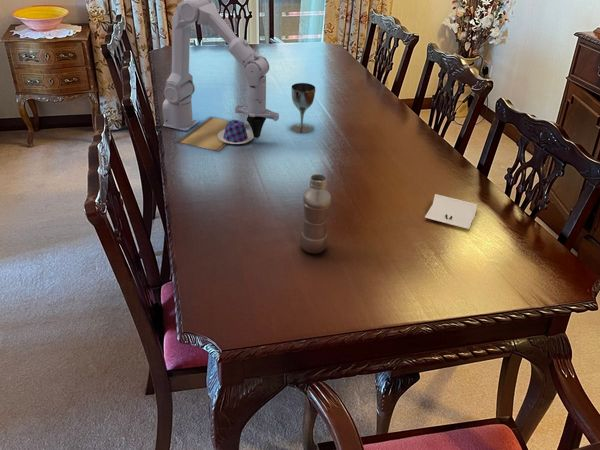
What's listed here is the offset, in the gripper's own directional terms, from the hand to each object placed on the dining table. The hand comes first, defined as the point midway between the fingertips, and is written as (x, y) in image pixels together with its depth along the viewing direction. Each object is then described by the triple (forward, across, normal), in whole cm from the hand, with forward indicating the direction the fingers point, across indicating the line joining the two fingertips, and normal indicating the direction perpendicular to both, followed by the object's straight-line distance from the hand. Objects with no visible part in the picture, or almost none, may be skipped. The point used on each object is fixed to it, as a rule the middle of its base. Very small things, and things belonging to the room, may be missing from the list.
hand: (256, 136), depth 181 cm
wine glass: (+2, +9, +17) cm, 19 cm away
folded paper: (+3, +66, -17) cm, 68 cm away
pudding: (+2, -8, 0) cm, 8 cm away
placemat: (+2, -16, 0) cm, 16 cm away
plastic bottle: (+2, +37, -47) cm, 60 cm away
